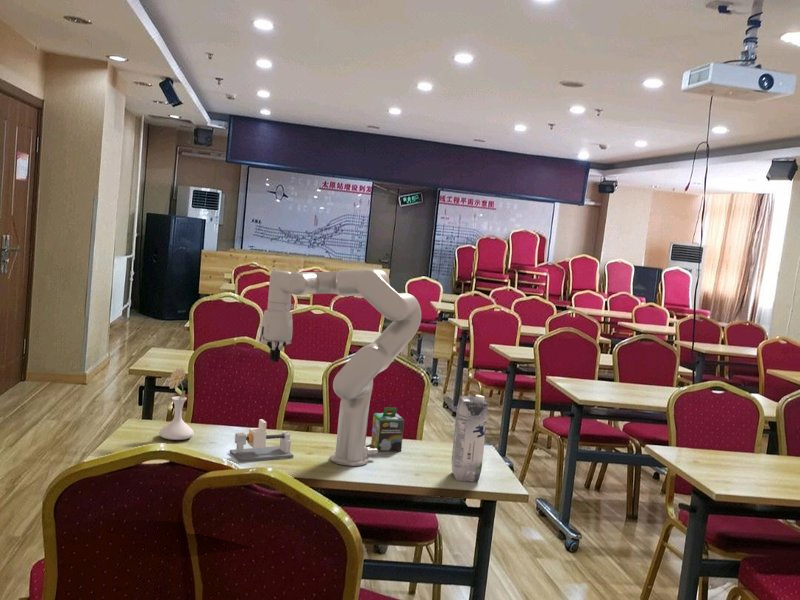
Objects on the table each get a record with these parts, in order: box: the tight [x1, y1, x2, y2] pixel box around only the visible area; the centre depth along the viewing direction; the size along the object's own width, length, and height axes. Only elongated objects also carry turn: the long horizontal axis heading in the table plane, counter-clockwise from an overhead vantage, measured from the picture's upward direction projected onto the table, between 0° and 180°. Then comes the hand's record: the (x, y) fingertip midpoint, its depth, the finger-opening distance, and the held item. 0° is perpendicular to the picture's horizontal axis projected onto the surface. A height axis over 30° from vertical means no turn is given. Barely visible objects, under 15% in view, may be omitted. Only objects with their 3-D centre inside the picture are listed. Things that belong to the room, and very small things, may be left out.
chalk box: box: [370, 407, 405, 452], centre depth 260 cm, size 9×9×15 cm
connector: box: [234, 432, 247, 455], centre depth 234 cm, size 3×3×6 cm
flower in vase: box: [158, 366, 195, 441], centre depth 246 cm, size 13×11×25 cm
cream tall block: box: [247, 418, 268, 448], centre depth 237 cm, size 4×5×8 cm
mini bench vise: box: [229, 431, 294, 463], centre depth 238 cm, size 18×10×7 cm, turn 122°
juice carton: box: [451, 394, 489, 483], centre depth 235 cm, size 9×10×27 cm
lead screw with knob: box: [246, 433, 285, 444], centre depth 238 cm, size 16×3×3 cm, turn 122°
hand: (274, 361), depth 247 cm, fingers closed
